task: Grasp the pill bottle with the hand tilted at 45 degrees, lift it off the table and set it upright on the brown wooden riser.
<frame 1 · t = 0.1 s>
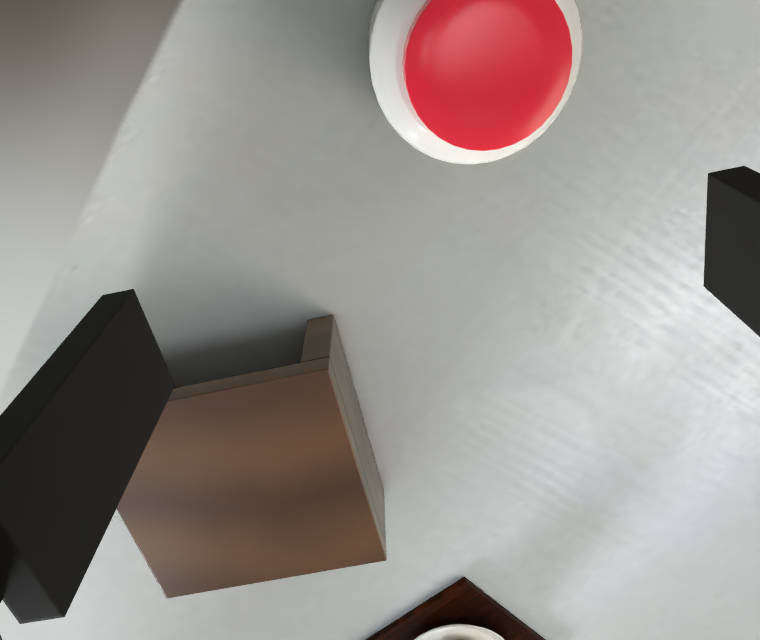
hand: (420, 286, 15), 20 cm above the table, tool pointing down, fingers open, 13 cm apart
pill bottle: (448, 40, 30), on the table
brown wooden riser: (255, 429, 41), on the table
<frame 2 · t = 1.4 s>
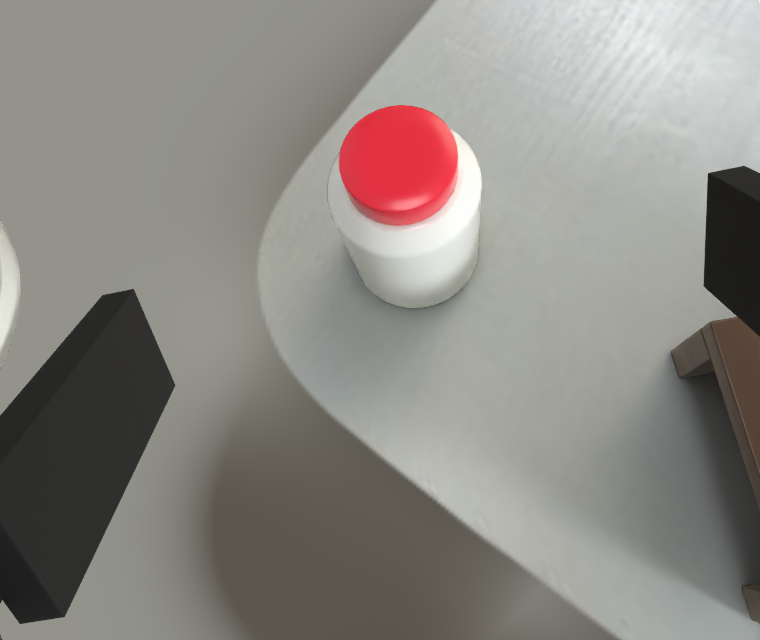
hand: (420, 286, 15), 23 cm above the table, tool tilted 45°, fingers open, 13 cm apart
pill bottle: (416, 250, 39), on the table
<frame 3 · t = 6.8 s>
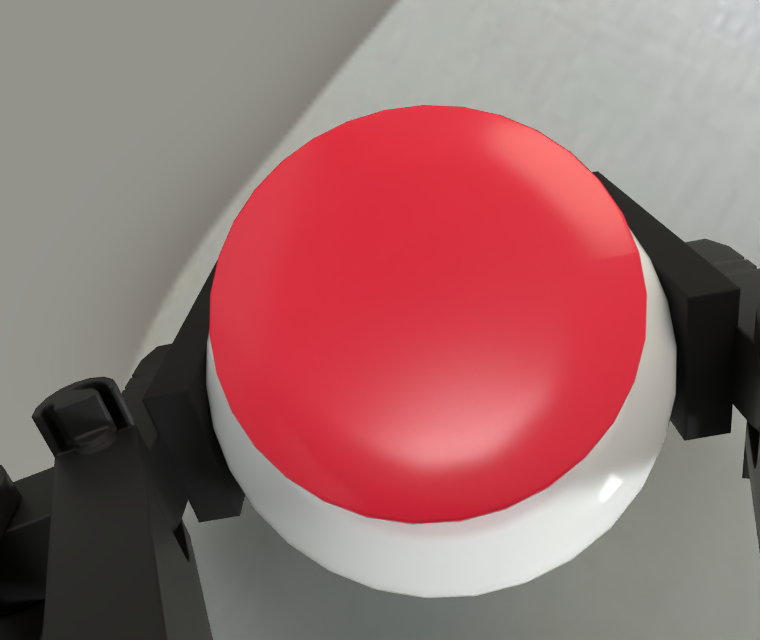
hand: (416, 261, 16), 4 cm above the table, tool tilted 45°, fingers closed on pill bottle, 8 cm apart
pill bottle: (446, 414, 19), on the table, touching gripper
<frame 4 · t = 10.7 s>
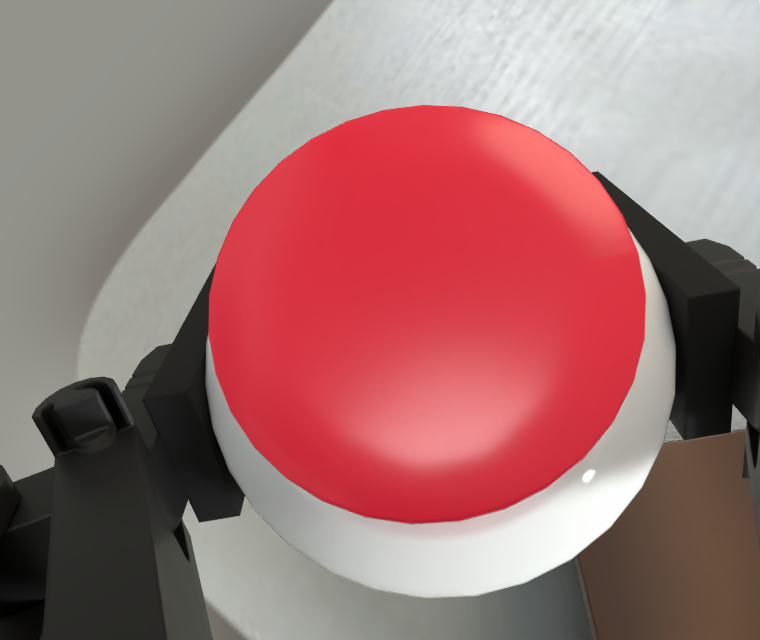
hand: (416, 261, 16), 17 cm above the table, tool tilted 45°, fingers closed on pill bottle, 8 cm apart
pill bottle: (446, 414, 19), point 13 cm above the table, touching gripper
brown wooden riser: (735, 604, 28), on the table
when the fingers open (10 cm above the table, at t = 15.1 s): pill bottle stays where it is, resting on brown wooden riser.
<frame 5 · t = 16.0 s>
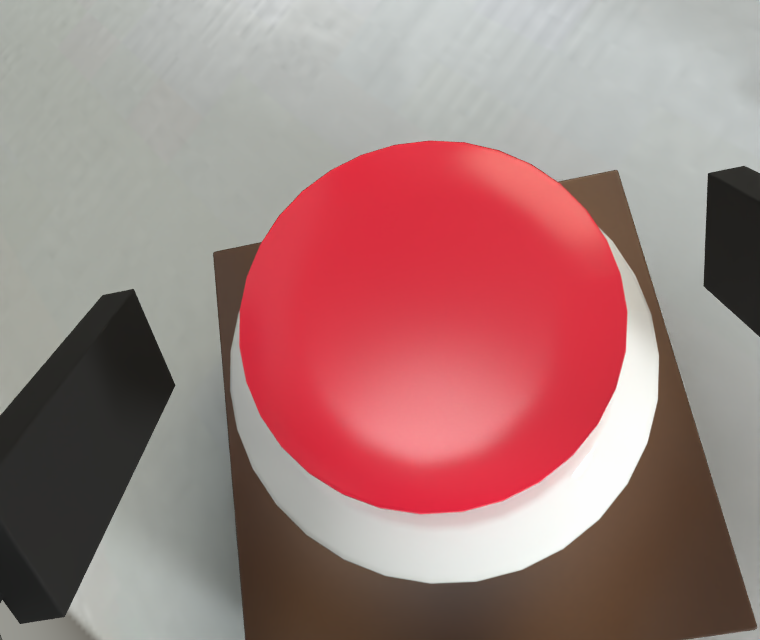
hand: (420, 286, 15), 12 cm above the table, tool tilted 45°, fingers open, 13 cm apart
pill bottle: (449, 417, 20), point 6 cm above the table, touching brown wooden riser
brown wooden riser: (452, 435, 25), on the table
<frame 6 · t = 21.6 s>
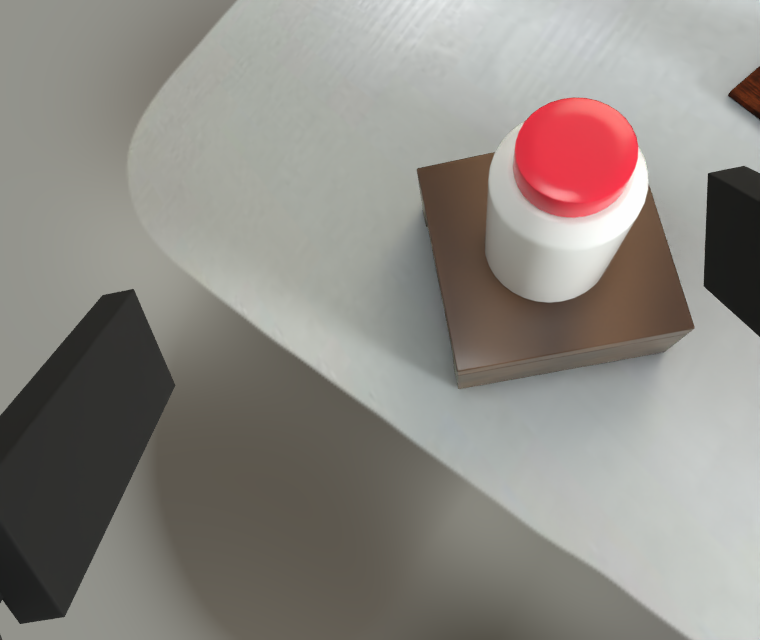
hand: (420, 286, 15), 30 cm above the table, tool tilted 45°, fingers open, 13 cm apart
pill bottle: (546, 244, 40), point 6 cm above the table, touching brown wooden riser
brown wooden riser: (536, 276, 45), on the table
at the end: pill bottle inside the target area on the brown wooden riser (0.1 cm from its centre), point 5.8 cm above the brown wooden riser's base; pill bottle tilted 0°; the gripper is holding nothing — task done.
